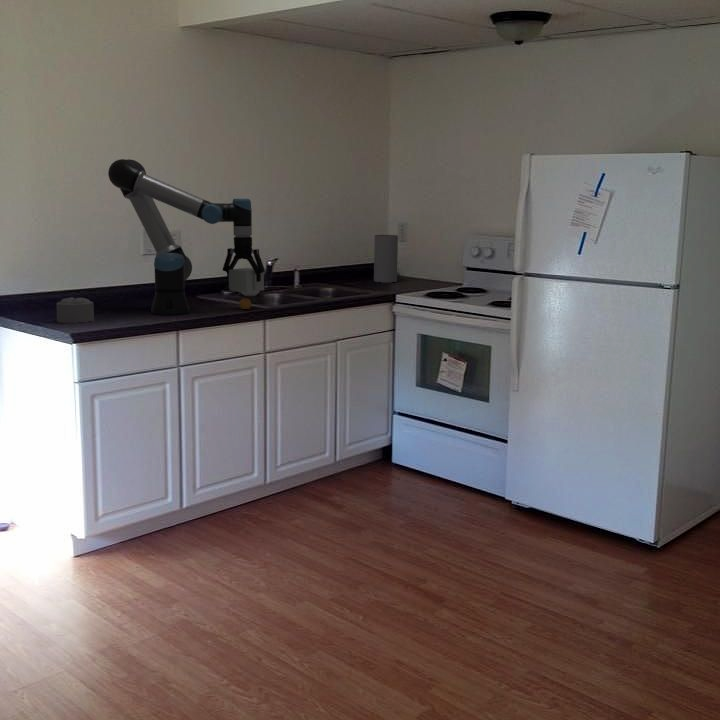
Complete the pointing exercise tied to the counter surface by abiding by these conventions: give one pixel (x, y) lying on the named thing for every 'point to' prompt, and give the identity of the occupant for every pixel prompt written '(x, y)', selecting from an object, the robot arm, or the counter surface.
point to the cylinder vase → (385, 258)
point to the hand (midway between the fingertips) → (244, 288)
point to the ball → (245, 303)
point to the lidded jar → (250, 293)
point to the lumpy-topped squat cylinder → (75, 310)
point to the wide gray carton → (244, 280)
